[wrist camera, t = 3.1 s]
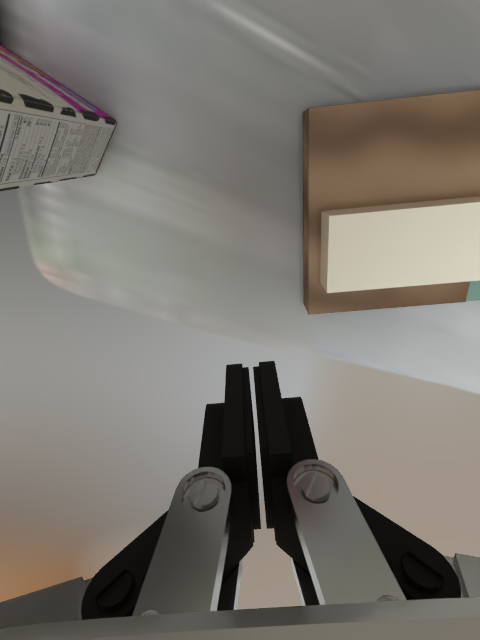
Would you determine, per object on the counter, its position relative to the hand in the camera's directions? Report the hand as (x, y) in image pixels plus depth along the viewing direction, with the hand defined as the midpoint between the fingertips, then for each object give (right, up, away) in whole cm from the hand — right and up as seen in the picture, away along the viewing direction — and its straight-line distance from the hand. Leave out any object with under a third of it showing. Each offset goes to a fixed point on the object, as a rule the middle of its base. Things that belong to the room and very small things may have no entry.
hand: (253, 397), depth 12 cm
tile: (+12, +9, +15) cm, 22 cm away
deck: (+12, +12, +17) cm, 24 cm away
